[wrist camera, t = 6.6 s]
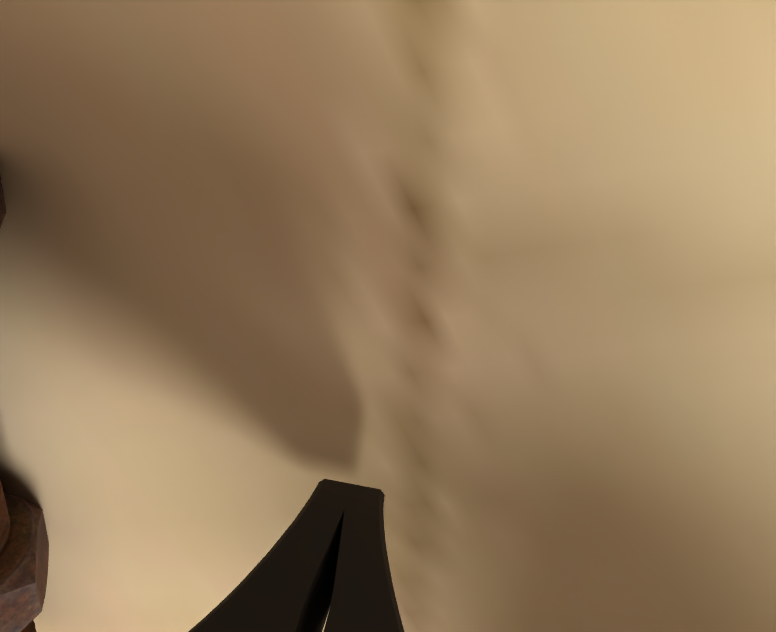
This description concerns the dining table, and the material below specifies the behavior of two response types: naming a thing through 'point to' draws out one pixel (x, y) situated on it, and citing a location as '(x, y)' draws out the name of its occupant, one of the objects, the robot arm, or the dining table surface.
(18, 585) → the bolt
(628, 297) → the dining table surface
